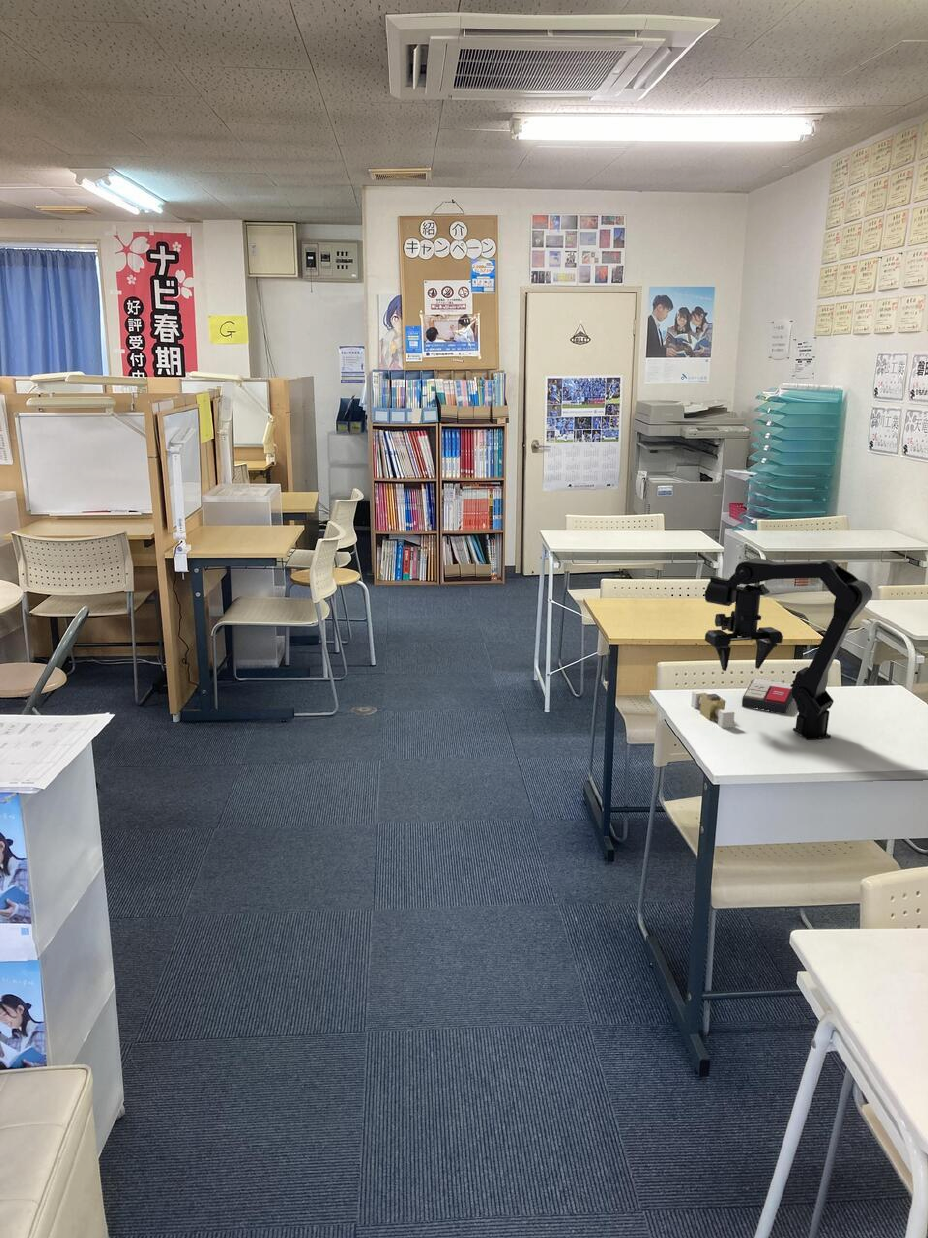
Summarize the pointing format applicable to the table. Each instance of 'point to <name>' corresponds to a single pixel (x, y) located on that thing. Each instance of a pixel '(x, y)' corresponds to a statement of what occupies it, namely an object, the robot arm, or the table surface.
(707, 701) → the tan block
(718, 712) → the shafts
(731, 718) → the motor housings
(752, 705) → the red and grey box
